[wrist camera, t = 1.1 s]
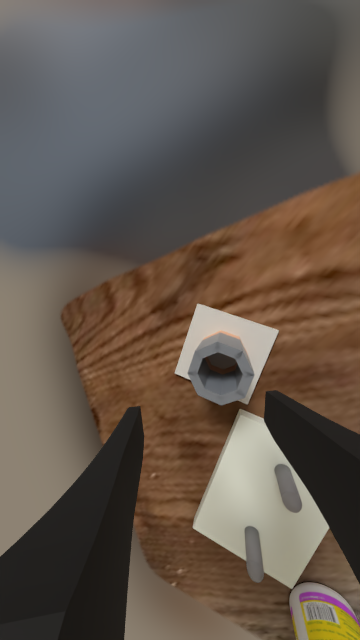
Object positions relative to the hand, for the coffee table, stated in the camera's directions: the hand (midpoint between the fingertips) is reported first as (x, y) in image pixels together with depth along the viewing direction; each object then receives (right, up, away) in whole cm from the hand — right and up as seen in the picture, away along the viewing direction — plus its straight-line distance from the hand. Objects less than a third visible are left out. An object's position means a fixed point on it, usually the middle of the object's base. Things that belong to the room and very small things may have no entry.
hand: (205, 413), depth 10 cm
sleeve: (+3, +1, +11) cm, 11 cm away
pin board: (+9, -15, +11) cm, 21 cm away
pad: (+4, +2, +11) cm, 12 cm away
